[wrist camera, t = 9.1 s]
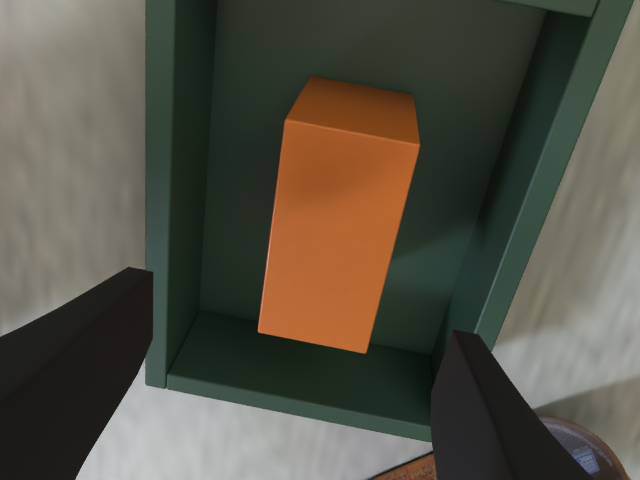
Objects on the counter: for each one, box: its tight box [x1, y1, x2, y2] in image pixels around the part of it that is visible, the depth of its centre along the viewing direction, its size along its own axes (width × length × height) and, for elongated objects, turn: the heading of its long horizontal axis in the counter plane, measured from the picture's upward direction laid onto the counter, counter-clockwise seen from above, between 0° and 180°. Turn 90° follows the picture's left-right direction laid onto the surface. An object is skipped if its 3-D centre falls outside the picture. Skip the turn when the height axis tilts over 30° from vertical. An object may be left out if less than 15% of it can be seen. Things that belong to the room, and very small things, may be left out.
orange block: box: [258, 76, 420, 353], centre depth 18 cm, size 4×7×5 cm, turn 171°
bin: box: [145, 0, 634, 442], centre depth 19 cm, size 12×16×4 cm
